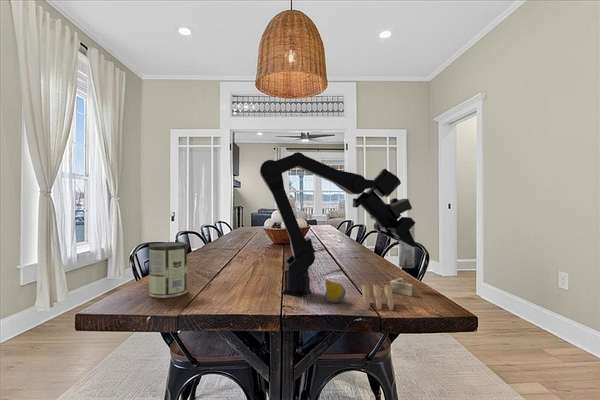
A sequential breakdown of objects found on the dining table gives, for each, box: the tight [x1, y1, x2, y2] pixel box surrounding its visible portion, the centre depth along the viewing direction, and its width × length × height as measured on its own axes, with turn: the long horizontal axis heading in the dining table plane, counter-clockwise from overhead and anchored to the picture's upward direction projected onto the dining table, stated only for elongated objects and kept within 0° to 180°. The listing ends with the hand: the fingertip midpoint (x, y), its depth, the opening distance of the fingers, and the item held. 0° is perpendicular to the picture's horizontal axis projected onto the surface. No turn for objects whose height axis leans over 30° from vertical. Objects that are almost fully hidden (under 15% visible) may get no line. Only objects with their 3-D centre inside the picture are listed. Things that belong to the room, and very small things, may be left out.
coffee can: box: [148, 241, 188, 299], centre depth 102 cm, size 10×10×14 cm
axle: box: [398, 223, 416, 269], centre depth 108 cm, size 4×4×13 cm
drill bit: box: [324, 278, 346, 304], centre depth 94 cm, size 5×5×10 cm
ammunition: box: [361, 284, 395, 311], centre depth 92 cm, size 5×7×8 cm
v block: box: [389, 277, 413, 297], centre depth 105 cm, size 5×9×3 cm, turn 3°
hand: (411, 244), depth 109 cm, fingers closed on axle, 4 cm apart
